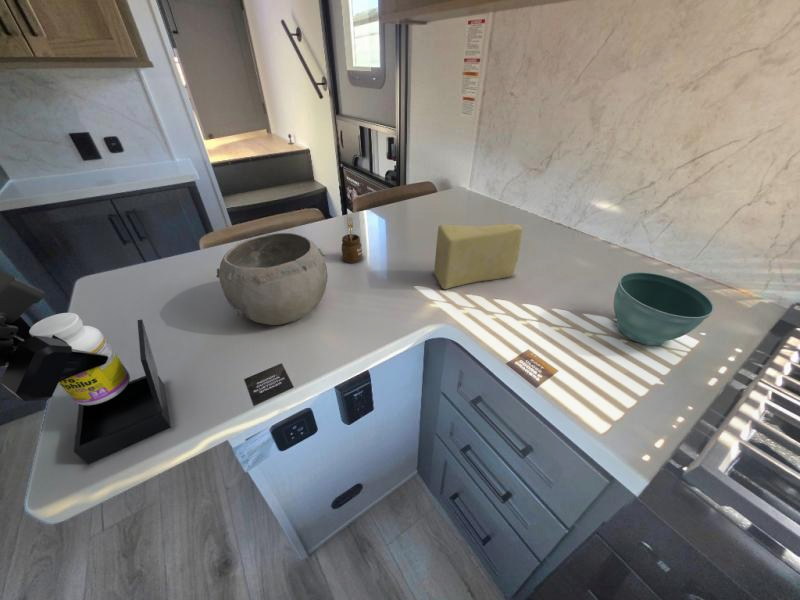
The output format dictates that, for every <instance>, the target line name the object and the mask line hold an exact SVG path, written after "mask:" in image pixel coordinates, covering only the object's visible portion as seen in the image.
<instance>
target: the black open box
mask: <svg viewBox="0 0 800 600" xmlns="http://www.w3.org/2000/svg"><path fill="white" fill-rule="evenodd" d="M158 380H159V387H160V395H161V403H162V410H163V412H160V413H158V412H157V409H156V406H155V403H154V400H153V397H152V393H151V390H150V387H149V384H148V381H147V378H146V375H143V376H140V377H138V378H135V379H132V380H129V383H128V385H127V386H126V388H125V389H124V390H123V391H122V392H121V393H119V394H118V395H117V396H115V397H113V398H112V399H110V400H108V401H105V402H102V403H99V404H95V405H81V404H78V412H77V418H76V428H75V437H74V445H73V447H74V448H73V452H74V453H75V454H76V456H78V457H79V458H80V459H81V460H82V461H83V462H85V463H86V464H87V465H88V466H89V465H91V464H93V463H95V462H97V461H100V460H102V459H105V458H106V457H108V456H110V455H113V454H115V453H117V452H120V451H122V450H124V449H126V448H129V447H131V446H133V445H135V444H138V443H140V442H142V441H144V440H146V439H148V438H150V437H153V436H155V435H157V434H159V433H162V432H164V431H166V430H169V429H170V428H171V420H170V419H171V418H170V414H169V413H170V411H169V407H168V399H167V393H166V387H165V386H166V385H165V384H164V382H163V380H162V379H161V377H160V375H158Z"/></svg>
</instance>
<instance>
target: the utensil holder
mask: <svg viewBox="0 0 800 600" xmlns="http://www.w3.org/2000/svg"><path fill="white" fill-rule="evenodd" d="M346 223H347V227H346V229H348V230H349V233H347V234H345V235H343V236H342V238H341V255H342V260H343V261H344V262H346V263H349V264H355V263H359V262H361V260H362V259H363V248H362V247H363V246H362V242H361V237H360V236H359V235H358V234H355V233H354V230H353V228H354V221H353V216H347V217H346Z"/></svg>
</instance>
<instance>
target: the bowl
mask: <svg viewBox="0 0 800 600" xmlns="http://www.w3.org/2000/svg"><path fill="white" fill-rule="evenodd" d="M325 256H326V255H325V253H324V252H323V250H322V248H321V247H320V248H319V247H318V246H317V245H316V244H315V242H314V241H312V240H311V239H310V238H308V237H306V236H303V235H300V234H296V233H290V232H278V233H270V234H269V233H268V234H265V235H261V236H260V235H259V236H256V237H253V238H252V237H251V238H249V239H246V240H243V241H241V242H239V243H237V244H236V245H234V246H233V247H232V248H230V249H229V250H227V251H226V253H225V254H224V255H223V257H222V259H221V261H220V264H219V268H216V276H215V277H216V278H218V279H219V283H220V287H221V289H222V292H223V294H224V297H225V299H226V300H227V302H228V304H229V305H230V307H232V308H233V310H235V311H236V314H237V316H238V318H240V320H244V319H245V318H246V319H249V320H251V321H253V322H255V323H259V324H263V325H267V326H280V325H284V324H289V323H290V324H291V323H293V322H296V321H299V320H301V319H303V318H304V317H306V316H308V315H309V314H311V313H312V312H313V311H314V310H315V309H316V308H317V307H318V305H319V304H320V302H321V300H322V298H323V297H324V294H325V292H326V288H327V284H328V278H329V277H328V276H329V275H328V267H327V263H326V261H325V258H324V257H325Z"/></svg>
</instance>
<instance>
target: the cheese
mask: <svg viewBox="0 0 800 600" xmlns="http://www.w3.org/2000/svg"><path fill="white" fill-rule="evenodd" d="M522 237H523V228H522V226H521V225H519V224H513V223H508V224H507V223H506V224H495V225H494V224H493V225H492V224H491V225H455V224H439V225H438V227H437V236H436V247H435V259H434V271H433V273H434V276H435V278H436V280H437V282H438V284H439V286H440V287H441V289H443V290H447V289H453V288H457V287H459V286H464V285H468V284H473V283H478V282H486V281H494V280H500V279H504V278H505V279H506V278H511V277H513V275H514V273H515V269H516V266H517V264H518V260H519V256H520V250H521V244H522Z"/></svg>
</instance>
